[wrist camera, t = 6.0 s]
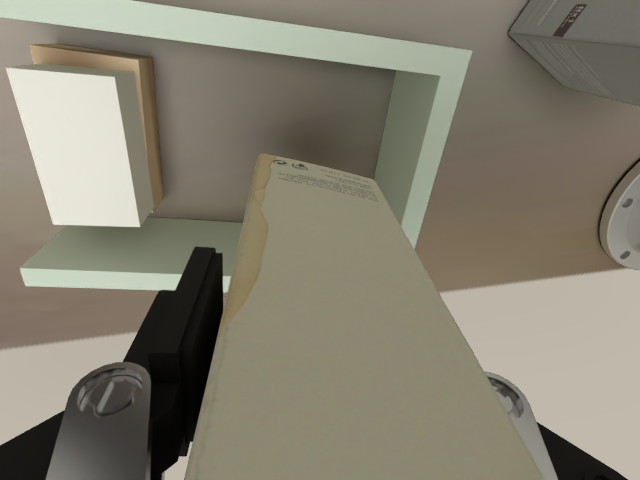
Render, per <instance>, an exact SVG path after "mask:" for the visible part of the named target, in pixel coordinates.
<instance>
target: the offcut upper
mask: <svg viewBox="0 0 640 480" xmlns="http://www.w3.org/2000/svg"><path fill="white" fill-rule="evenodd" d="M6 70H7V73H8V77H9V80H10V83H11V87H12V90H13V93H14V96H15V100H16V103H17V106H18V110H19V113H20V116H21V120H22V123H23V126H24V130H25V133H26V136H27V139H28V143H29V146H30V149H31V153H32V156H33V159H34V163H35V166H36V169H37V173H38V176H39V179H40V182H41V186H42V189H43V192H44V196H45V199H46V202H47V206H48V209H49V212H50V215H51V219H52V222H53V225H84V226H117V227H141V225H142V224H143V222H144V221H145V219H146V218H147V216H148V215H149V214H150V212H151V211H152V209H153V208H154V204H153V197H152V190H151V183H150V176H149V170H148V163H147V156H146V149H145V142H144V135H143V128H142V121H141V114H140V107H139V100H138V93H137V86H136V79H135V72H134V71H123V70H112V69H100V68H89V67H78V66H66V65H55V64H44V63H38V64H30V65H23V66H15V67H7V68H6Z"/></svg>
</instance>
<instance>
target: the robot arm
mask: <svg viewBox="0 0 640 480" xmlns="http://www.w3.org/2000/svg"><path fill="white" fill-rule="evenodd" d="M600 240H601V244H602V247H603V249H604V250H605V252H606V253H607V255H608V256H610V257H611V258H612V259H613V260H615V261H616V262H618V263H620V264H621V265H623V266H625V267H627V268H631V269H635V270H640V161H639V162H638V163H637V164H636V165H635V166H634V167H633V168H632V169H631V170H630V171H629V172H628V173H627V174H626V176H625V177H624V178H623V179H622V181H621V182H620V183H619V184H618V186H617V187H616V188H615V190H614V192H613V193H612V195H611V197H610V198H609V200H608V202H607V204H606V207H605V209H604V212H603V214H602V219H601V223H600ZM222 314H223V255H222V253H216V249H215V248H212V247H197V246H196V247H194V249H193V251H192V254H191V256H190V258H189V260H188V263H187V265H186V267H185V269H184V272H183V274H182V276H181V278H180V280H179V283H178V285H177V287H176V289H175V290H160V291H159V292H158V294H157V296H156V298H155V300H154V302H153V304H152V305H151V307H150V309H149V311H148V313H147V315H146V317H145V319H144V321H143V323H142V325H141V327H140V329H139V331H138V333H137V335H136V337H135V339H134V341H133V343H132V345H131V347H130V349H129V351H128V353H127V355H126V357H125V358H124V361H123V362H116V363H112V364H108V365H104V366H102V367H100V368H97V369H95V370H93V371H91V372H90V373H89V374H87V375H86V376H85V377H83V378H82V379H81V380H80V381H79V382H78V383H77V384H76V386H75V387H74V388H73V389H72V391H71V393H70V395H69V397H68V401H67V404H66V408H65V410H64V411H62V412H60V413H59V414H57V415H55V416H53V417H51V418H50V419H48V420H46V421H44V422H42V423H40V424H39V425H37V426H35V427H33V428H31V429H30V430H28V431H26V432H24V433H22V434H20V435H19V436H17V437H15V438H13V439H11V440H10V441H8V442H6V443H4V444H2V445H0V480H164V475H165V474H164V473H165V470H167V469H168V468H169V467H171V466H172V465H173V464H174V463H176V462H177V461H178V457H179V456H187V453H188V448H189V444H190V442H193V439H194V435H195V431H196V427H197V422H198V418H199V414H200V410H201V405H202V401H203V397H204V392H205V388H206V384H207V380H208V375H209V371H210V367H211V362H212V358H213V353H214V349H215V345H216V340H217V336H218V331H219V327H220V323H221V318H222ZM484 373H485V374H486V376H487V378H488V379H489V381H490V383H491V385H492V387H493V388H494V390H495V392H496V394H497V396H498V398H499V399H500V401H501V403H502V404H503V406H504V408H505V410H506V411H507V413H508V415H509V416H510V418H511V420H512V422H513V423H514V425H515V427H516V429H517V431H518V433H519V434H520V436H521V438H522V440H523V442H524V443H525V445H526V447H527V449H528V450H529V452H530V454H531V456H532V457H533V459H534V461H535V463H536V465H537V466H538V468H539V470H540V472H541V473H542V475H543V477H544V479H545V480H628V479H626V478H625V477H623V476H622V475H621V474H619V473H618V472H616V471H615V470H613V469H612V468H610V467H608V466H607V465H605V464H604V463H602V462H600V461H599V460H597V459H595V458H594V457H592V456H591V455H589V454H587V453H586V452H584V451H583V450H581V449H579V448H578V447H576V446H574V445H573V444H571V443H569V442H568V441H567V440H565V439H563V438H562V437H560V436H558V435H557V434H555V433H553V432H552V431H550V430H549V429H547V428H546V427H544V426H542V425H541V424H539V423H538V422H536V420H535V417H534V415H533V412H532V409H531V407H530V404H529V402H528V401H527V399H526V397H525V395H524V394H523V393H522V392H521V391H520V390H519V389H518V388H517V387H516V386H515V385H514V384H512V383H511V382H510V381H508V380H507V379H505V378H503V377H501V376H499V375H496V374H493V373H491V372H484Z"/></svg>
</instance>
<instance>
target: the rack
mask: <svg viewBox="0 0 640 480" xmlns="http://www.w3.org/2000/svg"><path fill="white" fill-rule="evenodd" d="M0 17H5V18H12V19H20V20H27V21H35V22H42V23H50V24H57V25H65V26H72V27H80V28H87V29H94V30H102V31H109V32H117V33H124V34H132V35H139V36H147V37H154V38H162V39H169V40H177V41H184V42H192V43H199V44H207V45H214V46H222V47H229V48H237V49H244V50H252V51H259V52H266V53H274V54H281V55H289V56H296V57H304V58H311V59H319V60H326V61H334V62H341V63H349V64H356V65H364V66H371V67H379V68H386V69H394V70H396V73H395V78H394V83H393V88H392V93H391V97H390V102H389V107H388V112H387V117H386V122H385V127H384V131H383V136H382V141H381V146H380V151H379V156H378V160H377V165H376V170H375V175H374V181H375V182H376V183H377V185H378V186H379V188H380V190H381V192H382V193H383V195H384V197H385V199H386V201H387V202H388V204H389V206H390V208H391V210H392V211H393V213H394V215H395V217H396V218H397V220H398V222H399V224H400V225H401V227H402V229H403V231H404V233H405V235H406V236H407V238H408V239H409V241H410V243H411V245H412V246H413V248H414V249H415V245H416V242H417V238H418V235H419V232H420V228H421V225H422V221H423V218H424V214H425V211H426V208H427V204H428V201H429V197H430V194H431V191H432V187H433V184H434V180H435V177H436V174H437V170H438V167H439V163H440V160H441V156H442V153H443V150H444V146H445V143H446V139H447V136H448V133H449V129H450V126H451V122H452V119H453V115H454V112H455V109H456V105H457V102H458V98H459V95H460V92H461V88H462V85H463V81H464V78H465V75H466V71H467V68H468V64H469V61H470V57H471V54H472V50H465V49H458V48H451V47H444V46H438V45H431V44H424V43H417V42H410V41H404V40H397V39H390V38H383V37H377V36H370V35H363V34H356V33H349V32H343V31H336V30H329V29H322V28H315V27H309V26H302V25H295V24H288V23H282V22H275V21H268V20H261V19H254V18H248V17H241V16H234V15H227V14H220V13H214V12H207V11H200V10H193V9H187V8H180V7H173V6H166V5H159V4H153V3H146V2H139V1H132V0H0ZM242 225H243V223H239V222H223V221H206V220H190V219H174V218H157V217H147V218H146V219H145V221H144V222H143V224H142V225H141V227H117V226H84V225H66V226H65V227H64V228H63V229H62V230H61V231H60V232H59V233H57V234H56V235H55V236H54V237H53V238H52V239H51V240H50V241H49V242H48V243H46V244H45V245H44V246H43V247H42V248H41V249H40V250H39V251H38V252H37V253H36V254H34V255H33V256H32V257H31V258H30V259H29V260H28V261H27V262H26V263H25V264H23V265H22V266H21V267H20V271H21V274H22V277H23V280H24V283H25V286H43V287H74V288H105V289H137V290H175V289H176V287H177V285H178V283H179V280H180V278H181V276H182V274H183V272H184V269H185V267H186V265H187V263H188V260H189V258H190V256H191V254H192V251H193V249H194V247H196V246H197V247H212V248H215V249H216V253H222V255H223V292H228V287H229V283H230V279H231V274H232V270H233V265H234V261H235V256H236V252H237V247H238V243H239V238H240V234H241V229H242Z"/></svg>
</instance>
